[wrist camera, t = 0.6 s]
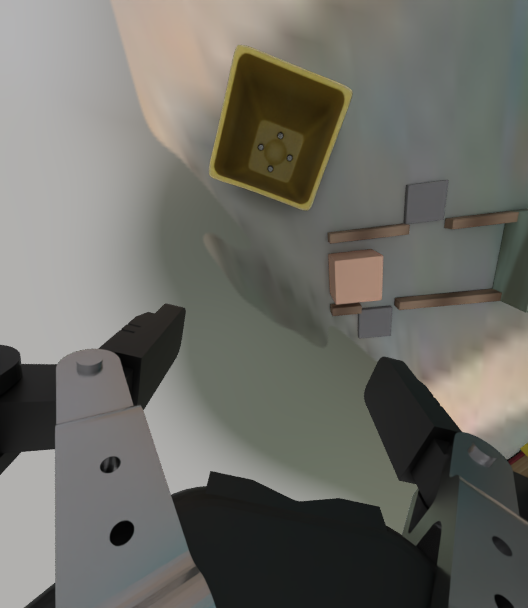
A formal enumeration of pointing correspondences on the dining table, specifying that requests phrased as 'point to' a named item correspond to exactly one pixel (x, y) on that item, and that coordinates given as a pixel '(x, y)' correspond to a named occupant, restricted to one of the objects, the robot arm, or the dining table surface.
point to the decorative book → (520, 462)
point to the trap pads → (418, 208)
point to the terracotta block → (355, 276)
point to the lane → (507, 288)
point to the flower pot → (277, 127)
